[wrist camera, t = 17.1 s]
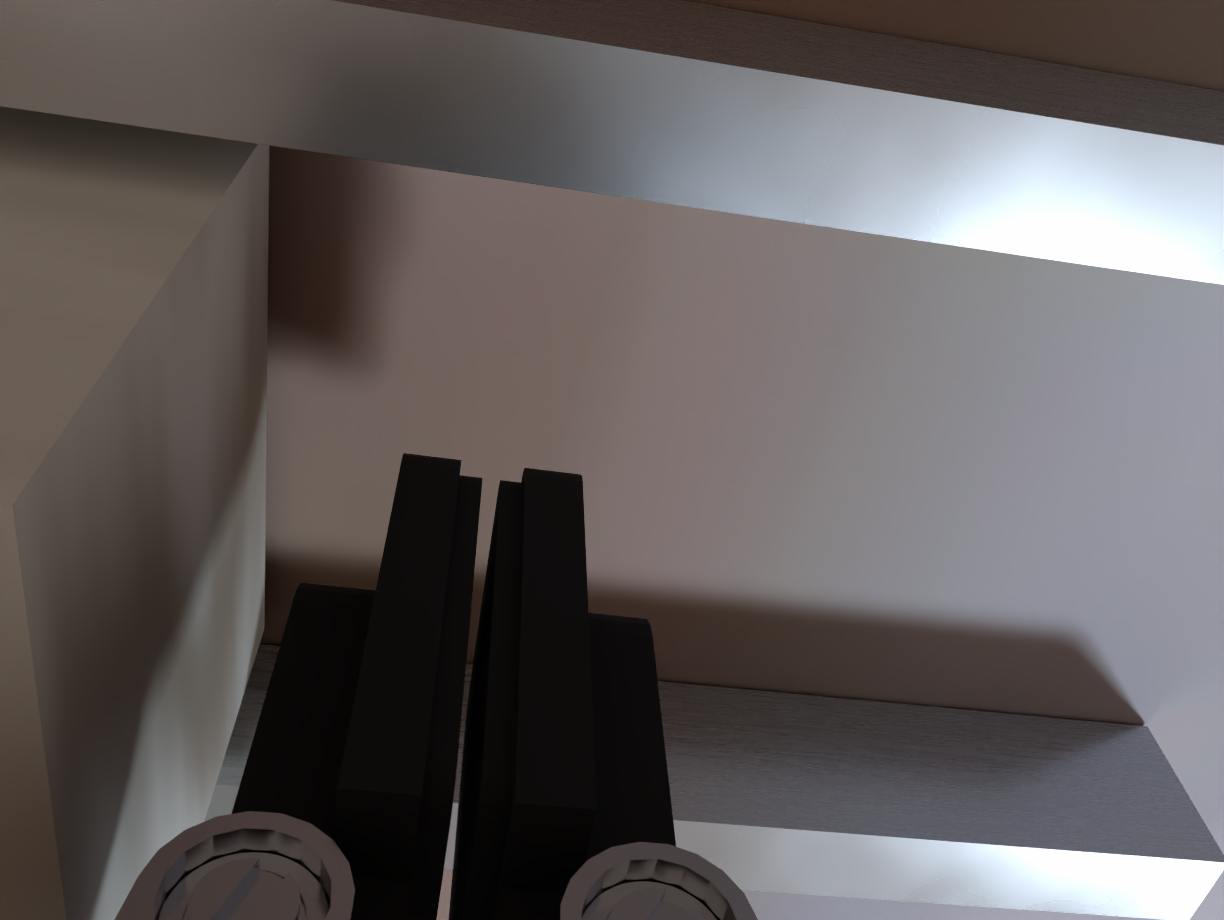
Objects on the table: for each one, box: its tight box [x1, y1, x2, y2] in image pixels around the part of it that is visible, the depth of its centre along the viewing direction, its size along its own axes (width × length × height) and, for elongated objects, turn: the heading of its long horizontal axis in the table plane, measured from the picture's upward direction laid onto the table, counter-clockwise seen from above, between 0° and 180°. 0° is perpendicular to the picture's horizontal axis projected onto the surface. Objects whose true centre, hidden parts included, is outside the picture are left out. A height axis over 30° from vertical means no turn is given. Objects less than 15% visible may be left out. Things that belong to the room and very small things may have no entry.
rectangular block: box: [0, 0, 1224, 920], centre depth 12 cm, size 10×23×3 cm, turn 80°
